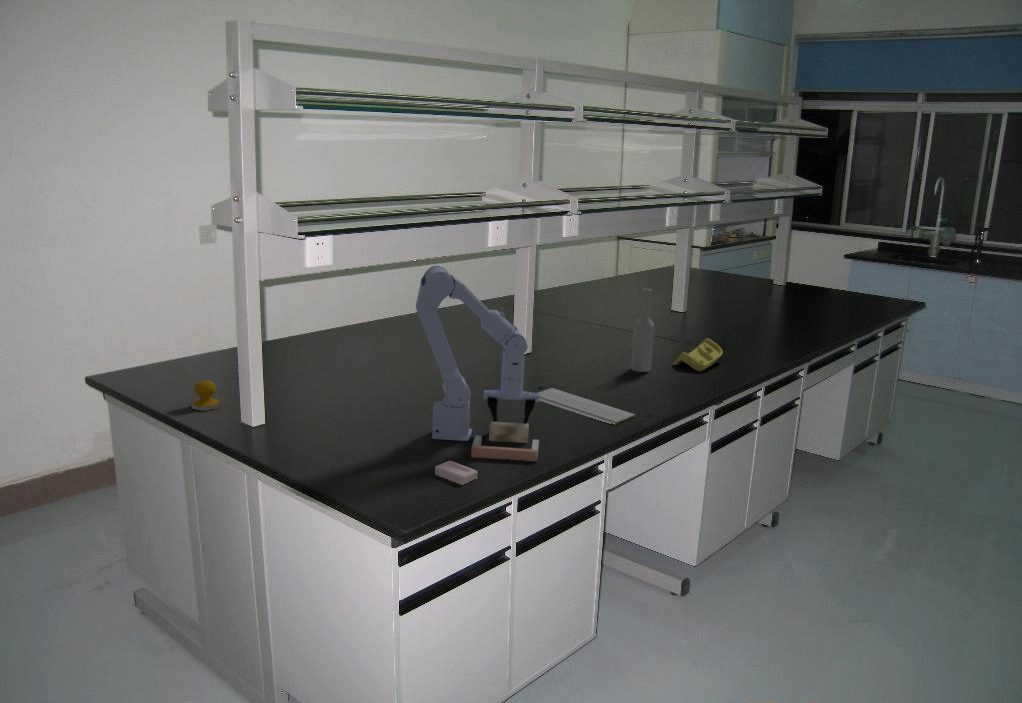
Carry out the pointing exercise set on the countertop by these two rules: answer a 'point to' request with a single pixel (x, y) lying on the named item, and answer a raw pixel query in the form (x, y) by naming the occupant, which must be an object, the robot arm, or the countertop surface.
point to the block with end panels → (504, 451)
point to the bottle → (643, 337)
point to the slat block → (508, 432)
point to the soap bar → (455, 472)
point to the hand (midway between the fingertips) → (510, 425)
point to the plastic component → (701, 355)
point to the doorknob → (205, 393)
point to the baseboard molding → (583, 406)
